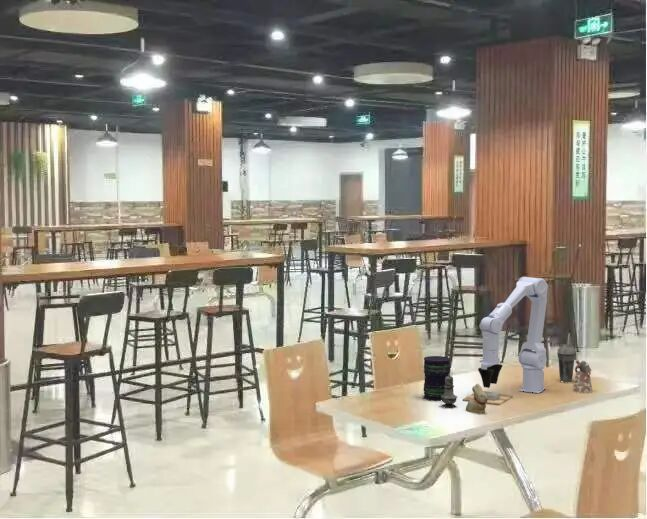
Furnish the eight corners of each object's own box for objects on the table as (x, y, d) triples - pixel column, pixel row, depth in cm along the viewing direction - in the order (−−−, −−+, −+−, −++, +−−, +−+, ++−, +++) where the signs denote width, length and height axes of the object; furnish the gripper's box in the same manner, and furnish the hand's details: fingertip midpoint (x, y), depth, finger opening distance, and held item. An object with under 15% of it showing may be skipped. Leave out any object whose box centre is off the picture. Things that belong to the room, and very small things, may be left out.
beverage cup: (553, 380, 339) (553, 332, 337) (568, 379, 341) (569, 331, 339) (563, 384, 332) (564, 334, 330) (578, 383, 334) (579, 334, 333)
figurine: (588, 394, 314) (588, 362, 313) (570, 391, 318) (570, 360, 318) (594, 390, 320) (595, 360, 319) (576, 388, 324) (577, 358, 323)
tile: (479, 390, 310) (473, 393, 305) (500, 392, 306) (494, 396, 301) (479, 395, 310) (473, 398, 305) (500, 397, 306) (494, 400, 301)
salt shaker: (444, 408, 292) (444, 375, 291) (438, 405, 297) (438, 372, 296) (460, 407, 293) (460, 374, 292) (453, 404, 299) (453, 371, 298)
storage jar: (449, 401, 302) (449, 361, 302) (422, 400, 304) (422, 360, 304) (450, 395, 312) (451, 356, 311) (424, 394, 314) (424, 355, 313)
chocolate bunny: (474, 414, 283) (474, 386, 283) (464, 409, 291) (464, 381, 290) (488, 413, 285) (489, 385, 284) (478, 408, 292) (478, 380, 292)
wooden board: (477, 392, 316) (477, 391, 316) (512, 397, 309) (512, 395, 309) (462, 400, 304) (462, 399, 304) (499, 405, 296) (499, 403, 296)
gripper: (487, 345, 316) (486, 380, 317) (473, 351, 303) (473, 387, 304) (504, 347, 312) (504, 382, 313) (491, 353, 300) (491, 390, 301)
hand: (490, 385), depth 308 cm, fingers open, 7 cm apart
